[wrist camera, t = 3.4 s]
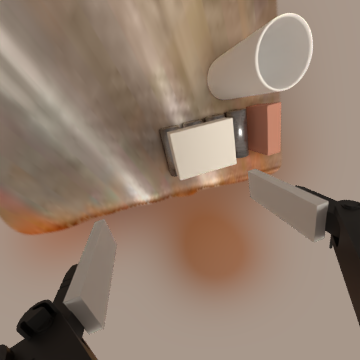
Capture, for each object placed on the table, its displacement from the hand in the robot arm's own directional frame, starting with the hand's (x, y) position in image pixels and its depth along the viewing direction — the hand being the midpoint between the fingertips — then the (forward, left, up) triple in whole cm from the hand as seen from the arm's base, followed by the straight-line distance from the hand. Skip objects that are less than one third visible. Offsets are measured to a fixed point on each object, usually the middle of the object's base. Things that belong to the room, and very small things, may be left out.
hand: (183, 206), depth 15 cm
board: (+9, -1, -21) cm, 23 cm away
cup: (+18, +11, -25) cm, 33 cm away
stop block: (+24, -1, -25) cm, 35 cm away
